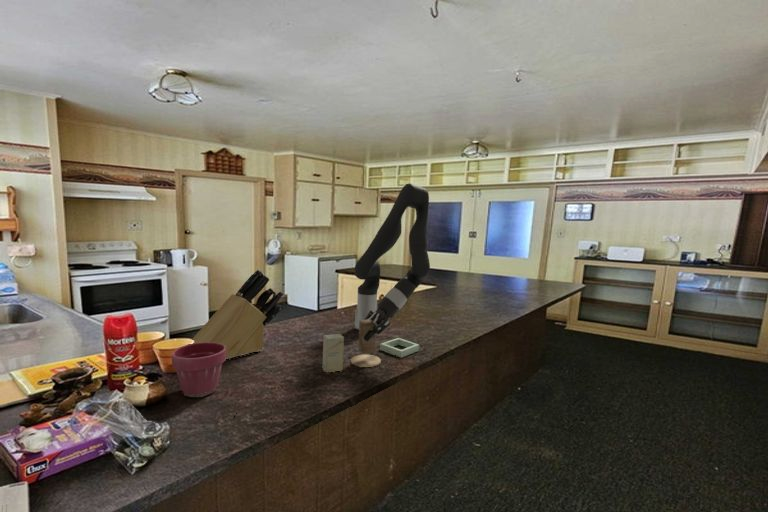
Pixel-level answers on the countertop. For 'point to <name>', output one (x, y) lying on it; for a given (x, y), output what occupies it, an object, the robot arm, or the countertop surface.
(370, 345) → the walnut block
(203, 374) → the plant pot
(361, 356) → the coaster
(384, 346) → the holder
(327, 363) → the skincare box
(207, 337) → the knife block
